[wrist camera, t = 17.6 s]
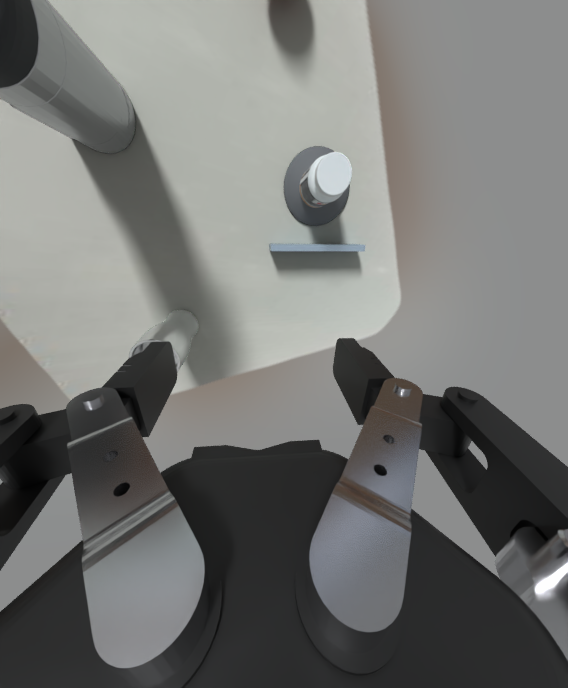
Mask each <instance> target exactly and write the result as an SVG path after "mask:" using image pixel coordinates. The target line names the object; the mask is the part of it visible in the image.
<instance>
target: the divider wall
mask: <svg viewBox="0 0 568 688" xmlns="http://www.w3.org/2000/svg"><path fill="white" fill-rule="evenodd" d="M269 250H270V251H365V245H360V244H269Z"/></svg>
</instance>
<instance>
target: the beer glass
mask: <svg viewBox="0 0 568 688" xmlns="http://www.w3.org/2000/svg"><path fill="white" fill-rule="evenodd" d="M198 329H199V323H198V320H197V318H196V317H195V316H194V315H193V314H192V313H191V312H189V311H186V310H181V309H180V310H174V311H172V312H171V313H170V314H169V315H168V316H167V318H166V320H165V321H164V322H162V323H159V324H157V325H155V326H153V327H152V328H150V329H149V330H148V331H147V332H145V333H144V334H143V335H142V336H141V338H140V339H139V340H138V341H137V343H136V344H135V345H134V346H133V347H132V349H131V350H130V353H129V358H130V357H132V356H134V355H135V354H137V353H139V352H143V351H144V350H145V348H146V347H147V346H148V345H149V344H150V343H151V342H162V341H169V342H170V343H171V344H172V348H173V353H174V358H175V363H176V368H177V372H178V370H179V369H180V368H181V366H182V365H183V363H184V362H185V360H186V358H187V356H188V354H189V351H190V347H191V339H192V337H194V336H195V335H196V334H197V332H198Z"/></svg>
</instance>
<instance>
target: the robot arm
mask: <svg viewBox="0 0 568 688" xmlns="http://www.w3.org/2000/svg"><path fill="white" fill-rule="evenodd" d="M0 99H2V100H3V101H5V102H7V103H9V104H10V105H11V106H12V107H13V108H15V109H17V110H19V111H21V112H23V113H25V114H26V115H28V116H30V117H32V118H34V119H36V120H38V121H39V122H41V123H43V124H45V125H47V126H49V127H51V128H53V129H54V130H56V131H58V132H60V133H62V134H64V135H66V136H68V137H69V138H72V139H75V140H77V141H79V142H81V143H83V144H85V145H86V146H88V147H90V148H92V149H94V150H96V151H99V152H103V153H117V152H120V151H122V150H124V149H125V148H126V147H127V146H128V145H129V144H130V142H131V141H132V139H133V136H134V133H135V124H136V122H135V114H134V110H133V106H132V103H131V101H130V99H129V97H128V95H127V93H126V92H125V90H124V89H123V87H122V86H121V85H120V83H119V82H118V81H117V80H116V79H115V78H114V76H113V75H112V74H111V73H110V72H109V71H108V69H107V68H106V67H105V66H104V65H103V63H102V62H101V61H100V60H99V59H98V58H97V57H96V55H95V54H94V53H93V52H92V51H91V50H90V48H89V47H88V46H87V45H86V44H85V43H84V42H83V40H82V39H81V38H80V37H79V36H78V35H77V33H76V32H75V31H74V30H73V29H72V28H71V27H70V25H69V24H68V23H67V22H66V21H65V20H64V18H63V17H62V16H61V15H60V14H59V13H58V12H57V10H56V9H55V8H54V7H53V6H52V5H51V3H50V2H49V1H48V0H0ZM333 373H334V377H335V379H336V381H337V383H338V385H339V387H340V389H341V391H342V393H343V395H344V397H345V399H346V401H347V403H348V405H349V407H350V409H351V411H352V414H353V416H354V418H355V420H356V422H357V424H358V425H363V427H362V429H361V432H360V434H359V436H358V439H357V441H356V444H355V446H354V448H353V450H352V453H351V455H350V458H349V460H348V459H347V458H345V457H343V456H341V455H339V454H336V453H333V452H330V451H326V450H322V448H321V445H320V442H319V440H307V441H290V442H287V443H283V444H279V445H276V446H272V447H269V448H265V449H262V450H251V449H246V448H240V447H234V446H227V445H224V446H207V447H194V450H193V454H192V457H191V458H190V459H186V460H184V461H181V462H179V463H177V464H175V465H173V466H171V467H169V468H167V469H166V470H164V471H163V472H161V473H160V471H159V470H158V468H157V466H156V464H155V462H154V460H153V458H152V456H151V454H150V452H149V450H148V448H147V446H146V444H145V442H144V440H143V438H142V437H149V435H150V433H151V431H152V429H153V427H154V425H155V423H156V421H157V419H158V417H159V415H160V413H161V411H162V409H163V407H164V405H165V404H166V402H167V399H168V397H169V396H170V394H171V392H172V390H173V388H174V386H175V384H176V381H177V368H176V363H175V358H174V353H173V348H172V344H171V343H170V342H169V341H162V342H151V343H150V344H149V345H148V346H147V347H146V348H145V350H144V351H143V352H139V353H137V354H135V355H134V356H132V357H130V358H129V359H128V360H127V361H126V362H125V363H124V364H123V366H121V367H120V368H119V370H118V372H116V373H115V374H114V375H113V376H112V377H111V378H110V379H109V380H108V381H107V382H106V383H105V385H104V386H103V387H102V388H97V389H93V390H89V391H87V392H84V393H82V394H80V395H78V396H76V397H75V398H74V399H72V400H71V401H70V402H69V403H68V405H67V407H66V409H64V410H60V411H56V412H51V413H46V414H42V415H38V414H37V412H36V410H35V408H34V407H33V406H32V405H28V404H19V405H13V406H9V407H5V408H2V409H0V479H1V480H2V481H3V483H2V484H1V485H0V570H1V569H2V567H3V566H4V564H5V563H6V561H7V560H8V559H9V557H10V556H11V554H12V553H13V551H14V550H15V548H16V547H17V545H18V544H19V543H20V541H21V539H22V538H23V537H24V535H25V534H26V532H27V531H28V529H29V528H30V526H31V525H32V523H33V522H34V521H35V519H36V518H37V516H38V515H39V513H40V512H41V510H42V509H43V508H44V506H45V505H46V503H47V502H48V500H49V499H50V497H51V496H52V494H53V493H54V491H55V490H56V489H57V487H58V486H59V484H60V483H61V481H62V480H63V478H64V477H65V475H67V474H70V473H72V478H73V484H74V490H75V496H76V502H77V508H78V514H79V520H80V526H81V532H82V539H83V540H82V541H81V542H80V543H79V544H77V546H75V547H74V548H73V549H72V550H71V551H70V552H69V553H67V554H66V555H65V556H64V557H63V558H61V560H59V561H58V562H57V563H56V564H55V565H54V566H52V567H51V568H50V569H49V570H48V571H47V572H45V573H44V574H43V575H42V576H41V577H40V578H39V579H37V580H36V581H35V582H34V583H33V584H32V585H31V586H29V587H28V588H27V589H26V590H25V591H24V592H23V593H21V594H20V595H19V596H18V597H17V598H16V599H15V600H13V601H12V602H11V603H10V604H9V605H8V606H7V607H6V608H4V609H3V610H2V611H1V612H0V688H568V467H567V466H566V465H565V464H563V463H562V462H561V461H560V460H559V459H557V458H556V457H555V456H554V455H553V454H551V453H550V452H549V451H548V450H547V449H545V448H544V447H543V446H542V445H541V444H539V443H538V442H537V441H536V440H535V439H533V438H532V437H531V436H530V435H529V434H527V433H526V432H525V431H524V430H522V429H521V428H520V427H519V426H518V425H517V424H515V423H514V422H513V421H512V420H511V419H509V418H508V417H507V416H506V415H505V414H503V413H502V412H501V411H500V410H499V409H497V408H496V407H495V406H494V405H492V404H491V403H490V402H489V401H488V400H487V399H485V398H484V397H483V396H481V395H480V394H478V393H476V392H474V391H471V390H468V389H465V388H461V387H449V388H447V389H446V390H445V392H444V395H443V397H438V396H432V395H425V394H423V392H422V390H421V389H420V388H419V387H418V386H417V385H416V384H414V383H412V382H410V381H408V380H405V379H400V378H395V377H394V376H393V375H392V374H391V373H390V372H389V371H388V369H387V368H386V367H385V366H384V365H383V364H382V363H381V362H380V360H379V359H378V358H377V357H376V356H375V355H374V354H373V352H371V351H369V350H367V349H366V348H362V347H361V346H360V345H359V344H358V343H357V341H356V340H355V339H354V338H339V339H338V340H337V343H336V350H335V357H334V364H333ZM471 441H473V442H474V443H475V444H476V446H477V447H478V448H479V449H480V450H481V451H482V452H483V453H484V455H485V457H486V459H487V462H488V468H487V470H486V469H485V468H484V467H483V465H482V464H481V463H480V462H479V461H478V460H477V459H476V457H475V456H474V455H473V454H472V453H471V451H470V450H469V449H468V446H469V445H470V443H471ZM419 449H421V450H425V451H426V453H427V454H428V456H429V457H430V459H431V460H432V462H433V463H434V465H435V466H436V467H437V469H438V471H439V472H440V474H441V475H442V477H443V478H444V480H445V481H446V483H447V484H448V486H449V487H450V489H451V490H452V492H453V493H454V495H455V496H456V498H457V499H458V501H459V502H460V504H461V505H462V507H463V508H464V510H465V511H466V513H467V514H468V516H469V517H470V519H471V520H472V522H473V523H474V525H475V526H476V528H477V529H478V531H479V532H480V534H481V535H482V537H483V538H484V540H485V542H486V543H487V545H488V546H489V548H490V549H491V551H492V552H493V554H494V555H495V557H496V560H495V564H496V569H497V572H498V575H499V577H500V579H499V578H498V577H497V576H496V575H494V574H493V573H491V571H489V570H488V569H487V568H485V567H484V566H483V565H482V564H480V563H479V562H478V561H477V560H475V559H474V558H473V557H472V556H470V555H469V554H468V553H467V552H465V551H464V550H463V549H462V548H460V547H459V546H458V545H457V544H455V543H454V542H453V541H452V540H450V539H449V538H448V537H446V536H445V535H444V534H443V533H442V532H440V531H439V530H438V529H436V528H435V527H434V526H433V525H431V524H430V523H429V522H428V521H426V520H425V519H424V518H423V517H421V516H420V515H419V514H417V513H416V512H415V511H414V510H412V509H411V506H412V498H413V490H414V483H415V475H416V467H417V459H418V452H419Z"/></svg>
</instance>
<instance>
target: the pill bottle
mask: <svg viewBox="0 0 568 688" xmlns="http://www.w3.org/2000/svg"><path fill="white" fill-rule="evenodd" d="M351 178H352V167H351V164H350V161H349V160H348V158H347V157H346V156H345V155H344V154H342V153H340V152H332V153H329V154H327V155H323V156H321V157H319V158H318V159H316V160H315V161H314V163H313V164H312V165H311V166H310V167H309V168H308V170H307V171H306V172H305V173H304V175H303V177H302V179H301V181H300V195H301V198H302V199H303V201H304V202H305V203H306V204H307V205H308V206H310V207H314V208H318V207H322V206H324V205H326V204H329V203H331V202H333V201H335V200H337V199H338V198H339V197H340V196H341V195H342V194H343V192H344V191H345V190H346V189H347V187H348V186H349V184H350V181H351Z"/></svg>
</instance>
